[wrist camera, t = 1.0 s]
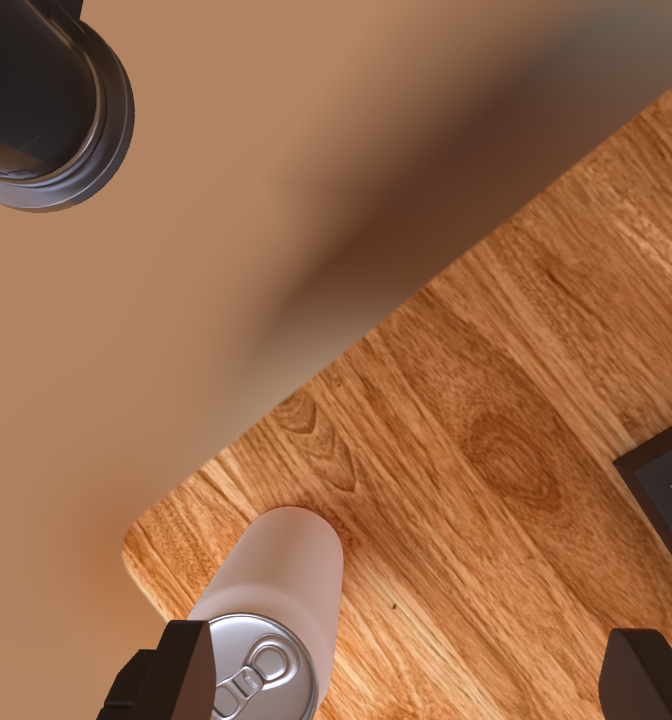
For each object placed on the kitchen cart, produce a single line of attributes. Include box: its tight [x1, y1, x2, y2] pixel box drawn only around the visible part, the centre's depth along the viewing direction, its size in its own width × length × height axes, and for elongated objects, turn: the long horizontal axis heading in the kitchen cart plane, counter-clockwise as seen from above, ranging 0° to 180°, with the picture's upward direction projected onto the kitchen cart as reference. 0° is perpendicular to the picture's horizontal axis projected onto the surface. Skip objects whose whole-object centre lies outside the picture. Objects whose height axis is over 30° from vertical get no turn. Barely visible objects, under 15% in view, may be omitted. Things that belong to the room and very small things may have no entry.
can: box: [186, 506, 344, 720], centre depth 25 cm, size 6×6×12 cm
